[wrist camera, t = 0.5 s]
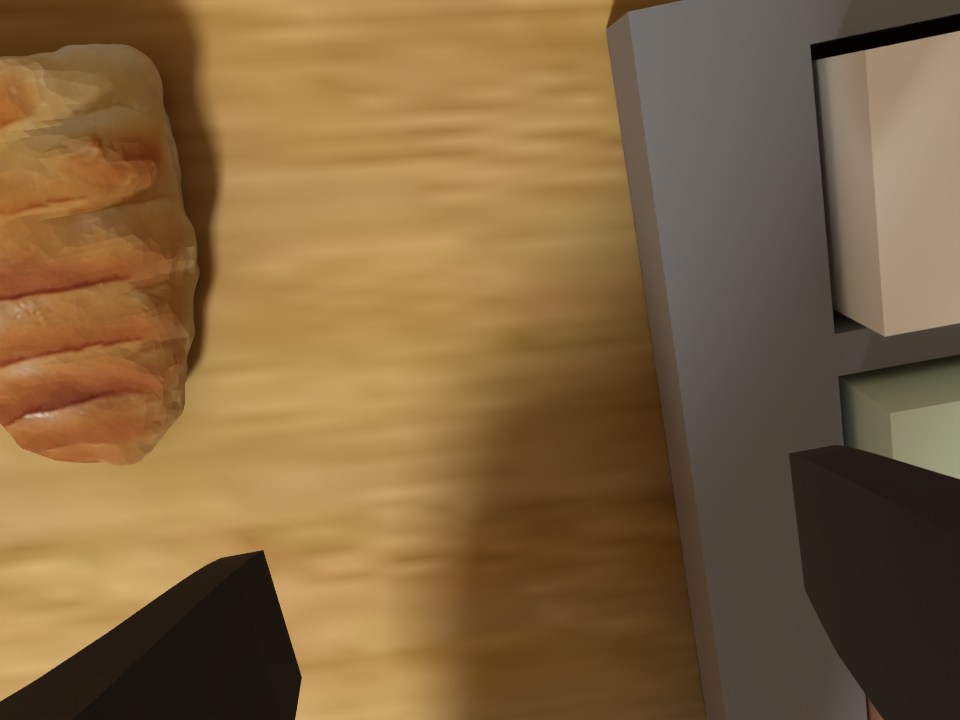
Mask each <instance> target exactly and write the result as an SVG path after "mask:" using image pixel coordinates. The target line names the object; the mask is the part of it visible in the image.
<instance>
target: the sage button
mask: <svg viewBox="0 0 960 720" xmlns="http://www.w3.org/2000/svg"><path fill="white" fill-rule="evenodd" d="M838 379H839V391H840V403H841V415H842V426H843V438H844V446H847V447H852V448H856V449H860V450H864V451H867V452H871V453H875V454H878V455H882V456H885V457H888V458H892V459H895V460H898V461H901V462H905V463H908V464H911V465H914V466H918V467H921V468H924V469H928V470H931V471H934V472H937V473H941V474H944V475H947V476H951V477H954V478H958V479H960V354H959V355H953V356H948V357H942V358H937V359H931V360H925V361H920V362H914V363H909V364H903V365H898V366H892V367H886V368H881V369H875V370H870V371H864V372H859V373H853V374H848V375H842V376H838Z"/></svg>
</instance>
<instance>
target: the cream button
mask: <svg viewBox="0 0 960 720" xmlns="http://www.w3.org/2000/svg"><path fill="white" fill-rule="evenodd" d="M812 73H813V85H814V96H815V108H816V120H817V132H818V144H819V155H820V167H821V179H822V191H823V202H824V214H825V226H826V238H827V250H828V261H829V273H830V285H831V297H832V309H834V310H836V311H838V312H840V313H842V314H844V315H845V316H847V317H849V318H851V319H853V320H855V321H856V322H858V323H860V324H862V325H864V326H866V327H868V328H869V329H871V330H873V331H875V332H877V333H879V334H881V335H882V336H884V337H886V336H892V335H897V334H903V333H908V332H914V331H919V330H925V329H930V328H936V327H941V326H947V325H952V324H958V323H960V31H955V32H951V33H946V34H941V35H936V36H931V37H926V38H921V39H916V40H911V41H906V42H902V43H897V44H892V45H887V46H882V47H877V48H872V49H867V50H862V51H857V52H853V53H848V54H843V55H838V56H833V57H828V58H823V59H818V60H813V61H812Z"/></svg>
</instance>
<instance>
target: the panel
mask: <svg viewBox="0 0 960 720" xmlns="http://www.w3.org/2000/svg"><path fill="white" fill-rule="evenodd" d="M956 16H960V0H681V1H676V2H672V3H667V4H662V5H657V6H653V7H648V8H643V9H638V10H634V11H629V12H627V13H626V14H624V15H623V16H622V17H621V18H620V19H618V20H617V21H616V22H615V23H613V24H612V25H611V26H610V27H609V28H607V29H606V32H607V39H608V46H609V53H610V60H611V66H612V73H613V80H614V87H615V94H616V101H617V108H618V114H619V121H620V128H621V135H622V142H623V149H624V156H625V162H626V169H627V176H628V183H629V190H630V197H631V204H632V210H633V217H634V224H635V231H636V238H637V245H638V252H639V258H640V265H641V272H642V279H643V286H644V293H645V300H646V306H647V313H648V320H649V327H650V334H651V341H652V348H653V354H654V361H655V368H656V375H657V382H658V389H659V396H660V402H661V409H662V416H663V423H664V430H665V437H666V443H667V450H668V457H669V464H670V471H671V478H672V485H673V491H674V498H675V505H676V512H677V519H678V526H679V533H680V539H681V546H682V553H683V560H684V567H685V574H686V581H687V587H688V594H689V601H690V608H691V615H692V622H693V629H694V635H695V642H696V649H697V656H698V663H699V670H700V677H701V683H702V690H703V697H704V704H705V711H706V718H707V720H867V709H866V698H865V693H864V691H863V690H862V689H861V687H860V686H859V684H858V683H857V681H856V680H855V678H854V677H853V676H852V674H851V673H850V671H849V670H848V668H847V667H846V665H845V664H844V663H843V661H842V660H841V658H840V657H839V655H838V654H837V652H836V650H835V648H834V647H833V645H832V643H831V641H830V639H829V637H828V635H827V633H826V631H825V629H824V628H823V626H822V624H821V622H820V620H819V618H818V616H817V614H816V612H815V610H814V608H813V606H812V604H811V602H810V600H809V598H808V595H807V593H806V591H805V587H804V579H803V570H802V562H801V554H800V545H799V537H798V528H797V520H796V511H795V503H794V494H793V486H792V477H791V469H790V460H789V453H794V452H799V451H805V450H810V449H816V448H821V447H827V446H832V445H840V446H844V438H843V426H842V415H841V403H840V391H839V379H838V376H842V375H848V374H853V373H859V372H864V371H870V370H875V369H881V368H886V367H892V366H898V365H903V364H909V363H914V362H920V361H925V360H931V359H937V358H942V357H948V356H953V355H959V354H960V323H958V324H952V325H947V326H941V327H936V328H930V329H925V330H919V331H914V332H908V333H903V334H897V335H892V336H886V337H884V336H882V335H881V334H879V333H877V332H875V331H873V330H871V329H869V328H868V327H866V326H864V325H862V324H860V323H858V322H856V321H855V320H853V319H851V318H849V317H847V316H845V315H844V314H842V313H840V312H838V311H836V310H834V309H832V297H831V285H830V273H829V261H828V250H827V238H826V226H825V214H824V202H823V191H822V179H821V167H820V155H819V144H818V132H817V120H816V108H815V96H814V85H813V73H812V61H811V49H810V46H814V45H819V44H824V43H829V42H834V41H839V40H844V39H848V38H853V37H858V36H863V35H868V34H873V33H878V32H883V31H887V30H892V29H897V28H902V27H907V26H912V25H917V24H922V23H926V22H931V21H936V20H941V19H946V18H951V17H956Z"/></svg>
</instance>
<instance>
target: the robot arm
mask: <svg viewBox="0 0 960 720" xmlns="http://www.w3.org/2000/svg"><path fill="white" fill-rule="evenodd" d="M789 460H790V469H791V477H792V486H793V494H794V503H795V511H796V520H797V528H798V537H799V545H800V554H801V562H802V570H803V579H804V587H805V591H806V593H807V595H808V598H809V600H810V602H811V604H812V606H813V608H814V610H815V612H816V614H817V616H818V618H819V620H820V622H821V624H822V626H823V628H824V629H825V631H826V633H827V635H828V637H829V639H830V641H831V643H832V645H833V647H834V648H835V650H836V652H837V654H838V655H839V657H840V658H841V660H842V661H843V663H844V664H845V665H846V667H847V668H848V670H849V671H850V673H851V674H852V676H853V677H854V678H855V680H856V681H857V683H858V684H859V686H860V687H861V689H862V690H863V691H864V693H865V694H866V696H867V697H868V699H869V700H870V701H871V703H872V704H873V706H874V707H875V709H876V710H877V711H878V713H879V714H880V716H881V717H882V718H883V720H960V479H958V478H954V477H951V476H947V475H944V474H941V473H937V472H934V471H931V470H928V469H924V468H921V467H918V466H914V465H911V464H908V463H905V462H901V461H898V460H895V459H892V458H888V457H885V456H882V455H878V454H875V453H871V452H867V451H864V450H860V449H856V448H852V447H847V446H840V445H832V446H827V447H821V448H816V449H810V450H805V451H799V452H794V453H789ZM301 678H302V677H301V674H300V670H299V667H298V664H297V660H296V657H295V654H294V650H293V647H292V644H291V641H290V637H289V634H288V631H287V627H286V624H285V621H284V617H283V614H282V611H281V608H280V604H279V601H278V598H277V594H276V591H275V588H274V584H273V581H272V578H271V574H270V571H269V568H268V565H267V561H266V558H265V555H264V551H263V550H262V551H257V552H251V553H246V554H240V555H235V556H230V557H224V558H220V559H218V560H216V561H214V562H212V563H210V564H208V565H206V566H204V567H203V568H201V569H199V570H198V571H196V572H194V573H193V574H191V575H190V576H188V577H187V578H185V579H184V580H182V581H181V582H179V583H178V584H176V585H175V586H173V587H172V588H171V589H169V590H168V591H166V592H165V593H163V594H162V595H161V596H159V597H158V598H156V599H155V600H153V601H152V602H151V603H149V604H148V605H146V606H145V607H144V608H142V609H141V610H139V611H138V612H136V613H135V614H134V615H132V616H131V617H129V618H128V619H126V620H125V621H124V622H122V623H121V624H119V625H118V626H117V627H115V628H114V629H112V630H111V631H109V632H108V633H107V634H105V635H104V636H102V637H101V638H99V639H98V640H96V641H95V642H93V643H91V644H90V645H88V646H87V647H85V648H84V649H82V650H81V651H79V652H78V653H76V654H75V655H73V656H72V657H70V658H69V659H67V660H66V661H64V662H63V663H61V664H60V665H58V666H57V667H55V668H54V669H52V670H51V671H49V672H48V673H46V674H45V675H43V676H42V677H40V678H38V679H37V680H35V681H34V682H32V683H30V684H29V685H27V686H26V687H24V688H22V689H21V690H19V691H17V692H16V693H14V694H12V695H11V696H9V697H7V698H5V699H4V700H2V701H0V720H295V716H296V710H297V704H298V697H299V691H300V685H301Z"/></svg>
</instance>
